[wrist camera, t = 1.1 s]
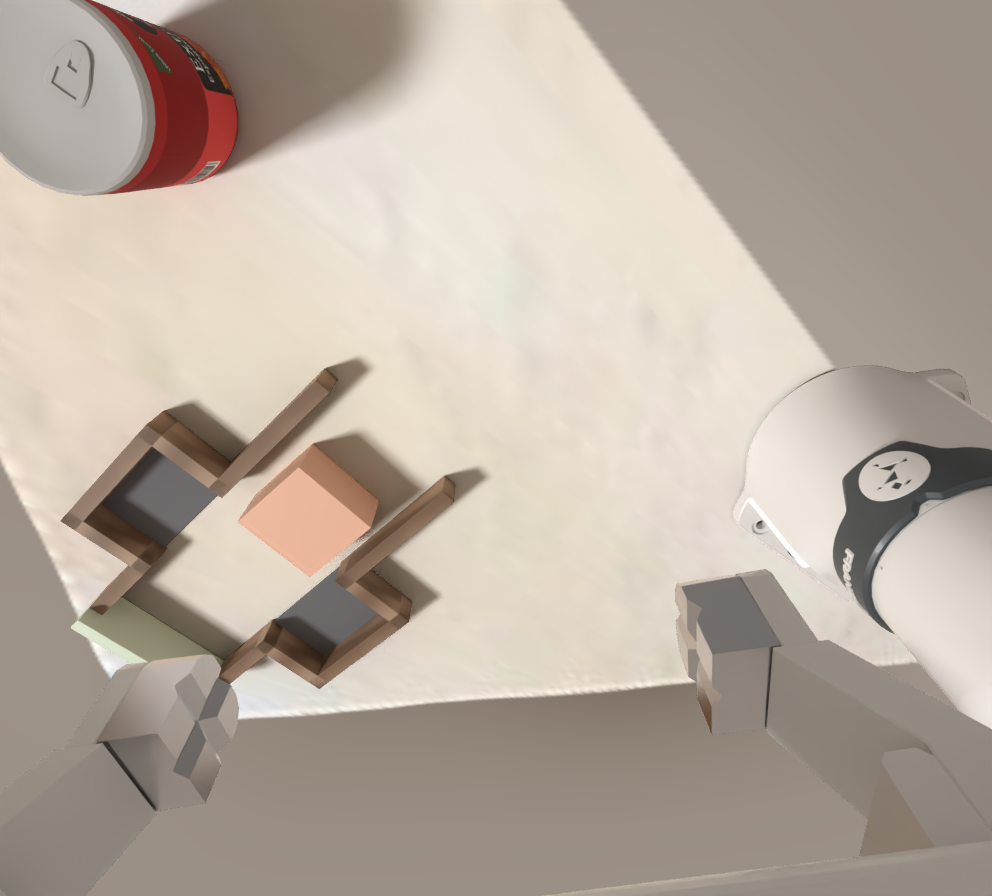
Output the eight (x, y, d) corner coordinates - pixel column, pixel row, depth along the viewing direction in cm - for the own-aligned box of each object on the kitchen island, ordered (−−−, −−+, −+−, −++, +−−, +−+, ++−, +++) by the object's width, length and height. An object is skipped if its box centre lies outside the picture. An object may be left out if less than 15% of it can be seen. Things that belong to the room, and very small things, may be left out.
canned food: (255, 66, 34) (160, 33, 24) (228, 205, 37) (135, 225, 27) (116, 4, 32) (-46, -60, 22) (102, 153, 36) (-44, 155, 26)
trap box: (505, 530, 49) (507, 560, 45) (277, 704, 58) (263, 741, 54) (256, 307, 40) (234, 322, 36) (34, 554, 49) (-1, 586, 46)
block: (379, 499, 47) (371, 527, 44) (322, 546, 50) (309, 577, 46) (313, 442, 45) (298, 467, 41) (256, 493, 47) (237, 521, 43)
